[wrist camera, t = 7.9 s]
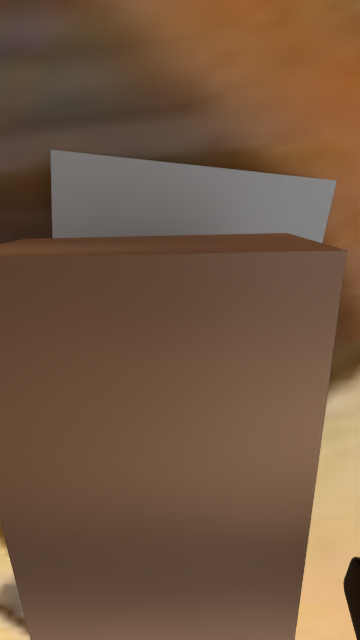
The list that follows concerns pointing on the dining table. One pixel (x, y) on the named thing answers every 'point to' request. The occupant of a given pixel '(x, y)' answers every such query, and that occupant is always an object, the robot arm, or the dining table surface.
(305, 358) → the shelf board
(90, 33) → the dining table surface
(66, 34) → the dining table surface
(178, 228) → the grey base with posts
